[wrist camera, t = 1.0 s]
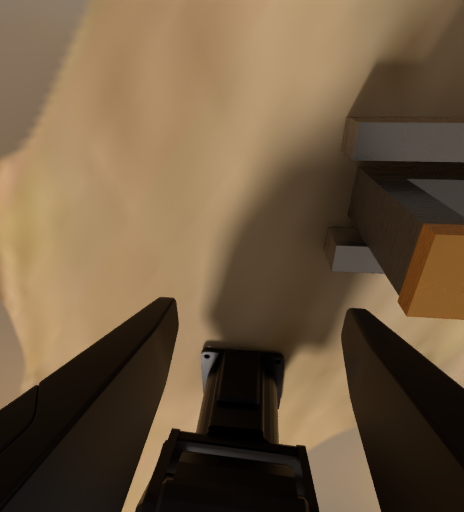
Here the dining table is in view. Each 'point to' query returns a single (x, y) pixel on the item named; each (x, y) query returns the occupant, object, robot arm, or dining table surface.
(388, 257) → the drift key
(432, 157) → the socket
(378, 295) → the dining table surface
